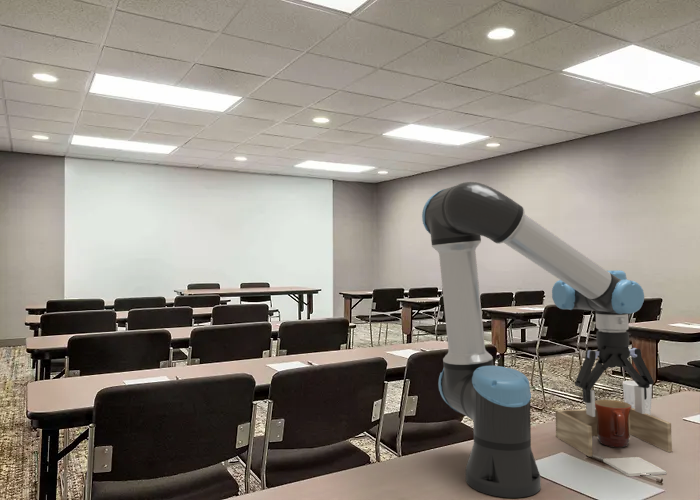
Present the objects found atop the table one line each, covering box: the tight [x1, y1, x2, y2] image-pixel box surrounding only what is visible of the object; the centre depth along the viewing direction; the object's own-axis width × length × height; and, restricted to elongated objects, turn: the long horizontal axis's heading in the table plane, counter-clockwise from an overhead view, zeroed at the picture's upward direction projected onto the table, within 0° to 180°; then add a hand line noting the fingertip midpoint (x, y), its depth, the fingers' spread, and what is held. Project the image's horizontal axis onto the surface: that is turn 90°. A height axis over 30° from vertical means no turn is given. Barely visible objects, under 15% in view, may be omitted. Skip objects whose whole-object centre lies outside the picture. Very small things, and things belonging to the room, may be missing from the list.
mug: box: [595, 399, 632, 449], centre depth 132 cm, size 12×9×10 cm
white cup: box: [622, 380, 653, 415], centre depth 159 cm, size 8×8×10 cm
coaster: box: [602, 456, 668, 477], centre depth 118 cm, size 9×9×1 cm
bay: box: [555, 408, 673, 457], centre depth 134 cm, size 22×15×7 cm
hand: (615, 414), depth 133 cm, fingers open, 13 cm apart
